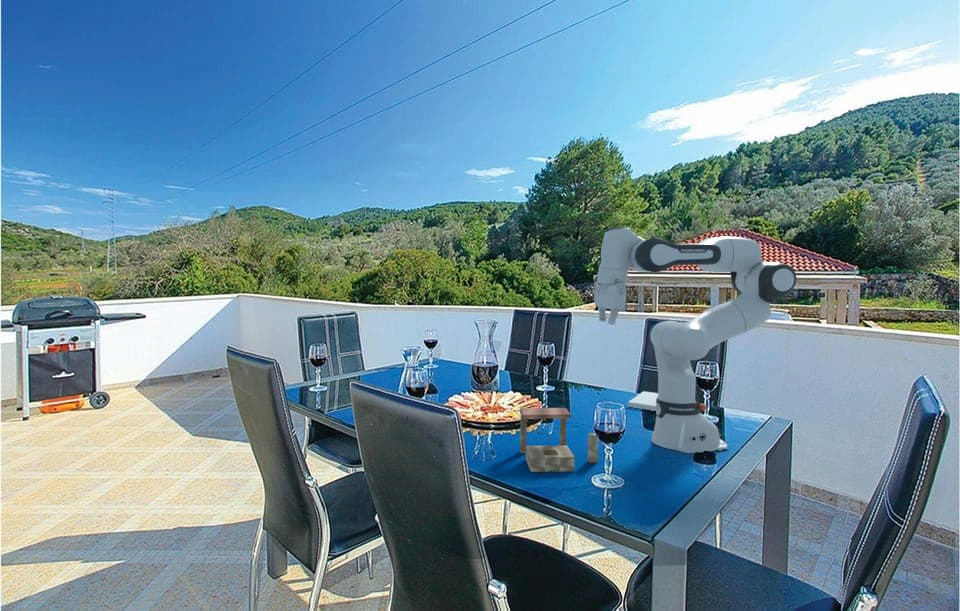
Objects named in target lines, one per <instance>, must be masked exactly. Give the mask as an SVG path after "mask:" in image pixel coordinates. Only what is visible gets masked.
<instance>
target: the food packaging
mask: <svg viewBox="0 0 960 611" xmlns="http://www.w3.org/2000/svg"><path fill="white" fill-rule="evenodd" d="M657 397H658V392H652V391H645V390H644V391H642V392H640V393H639V394H638V395H635V397H633V398H632V399H630V400H629V401H627V407H628V406H629V407H634V408H640V409H646V410H651V411H650V412H652V411H656V398H657ZM629 407H628V408H629ZM634 408H633V409H634ZM640 409H639V410H640ZM646 410H645V411H646Z"/></svg>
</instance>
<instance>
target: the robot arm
mask: <svg viewBox="0 0 960 611" xmlns="http://www.w3.org/2000/svg"><path fill="white" fill-rule="evenodd" d="M675 266H697V267H698V268H699V269H700V270H701V271H706V272H713V273H726V272H727V273H730V282H731V286H732V288H733V290H735V291H736V292H737V293H738V294H740V295H738V297H736V298H733V299H730V300H727V301H726V302H722V303H720V304H717V305H716V306H712V307H710V308H707V309H705V310H704V311H702V313H701V314H699V315H698V316H697V317H694V318H693V319H691V320H689V321H684V322H683V321H682V322H680V321H675V320H664V321H661V322H660V321H659V322H658V323H656V324H655V325H654V326H653V327H652V329H651V330H650V334H649V335H650V336H649V338H650V341H651V344H652V345H653V349H654V354H655V361H656V367H657V376H658V378H657V380H658V382H657V393H658V397H657V398H656V412H655V415H656V417H655V424H654V428H653V432H652V435H651V438H650V441H651V442H652V443H653V444H654V445H655V446H656V445H657V446H659V447H662V448H665V449H669V450H674V451H678V452H682V453H684V454H685V453H686V454H696V452H697V453H704V451H708V452H716V451H715V450H719V451H722V450H721V449H727V450H728V444H727V443H726V441H724V440H723V439H721V438H720V432H719V429H718V427H717V426H716V425H715V423H713V422H712V421H711V420H709V418H707V417H706V416H705V415H704V414H703V413H701V411H703V412H704V411H705V412H706V410H707V409H708V406H707V405H706V404H704V402H703V403H700V402H699V401H697V400H696V386H697V384H696V382H697V381H696V380H697V378H696V374H695V372H694V371H693V367H692V363H691V361H698V360H701V359H703V358H704V357H705V356H707V354H708V353H709V352H710V350H711V349H712V348H715V346H717V345H719V344H721V343H722V342H725V341H728V340H730V339H733V338H736V337H738V336H740V335H742V334H744V333H747V332H750V331H752V330H754V329H756V328H758V327H759V326H761V325H762V324H764V323H765V322H767V321H768V320H769V319H770V317H771V314H772V309H771V304H778V303H779V302H781V301H782V300H783V298H784V297H786V296H787V295H788V294H790V293H791V292H792V291H793V289H794V288H795V286H796V284H797V278H798V277H797V274H796V272H795V270H794V269H793V267H791V266H789V265H787V264H785V263H782V262H776V261H774V262H769V261H764V260H763V258H762V249H761V246H760V244H759V243H758V242H757V241H756V240H753V239H752V238H751V239H750V238H747V237H746V238H745V237H738V236H717V237H710V238H705V239H702V240H701V241H699V242H698V243H673V242H671V241H669V240H666V239H665V238H662V237H651V238H647V239H644V238H642V237H641V236H639V235H638V234H636V233H635V232H634V231H632V229H631V228H630V227H625V226H623V227H619V226H618V227H614V228H610V229H607V231H606V232H605V234H604V236H603V239H602V242H601V249H600V264H599V266H598V272H597V274H596V276H595V277H594V281H593V282H594V284H595V286H594V297H593V298H594V299H593V301H594V306H595V307H598V316H599V317H598V321H600V322H604V323H605V322H606V320H607V316H606V311H607V309H608V310H610V311H609V314H610V315H609V317H608V320H607V323H608V325H616V321H617V320H616V319H617V318H618V315H619V311H622V312H624V310H625V308H626V302H627V281H628V274H629V269H630V270H633V271H635V272H638V273H639V272H642V273H643V272H645V273H647V272H649V273H661V272H663V271H666V270H668V269H669V268H672V267H675ZM700 410H701V411H700Z"/></svg>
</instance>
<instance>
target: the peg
mask: <svg viewBox="0 0 960 611" xmlns="http://www.w3.org/2000/svg"><path fill="white" fill-rule="evenodd" d="M596 434H597V433H593V432H589V433H588V434H587V439H588V440H587V463H588V462H589V464H591V463H597V462H598V461H599V460H598V459H599V437H598V438H597V436H596ZM597 464H598V463H597Z"/></svg>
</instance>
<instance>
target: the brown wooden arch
mask: <svg viewBox="0 0 960 611" xmlns="http://www.w3.org/2000/svg"><path fill="white" fill-rule="evenodd" d="M519 413H520V434H519V435H520V438H519V440H520V443H519V448H520V451H519V452H520V454H526V446H527V421H528V420H529V419H530V420H532V419H533V420H537V419H539V420H542V419H544V420H545V419H547V420H548V419H553V420H554V419H559V441H558V442H559V443H558V444H559V445H558V446H567V443H566V442H567V419H572V414H571V413H570V411H569V410H568V409H567V408H566V407H520V408H519Z"/></svg>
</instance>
